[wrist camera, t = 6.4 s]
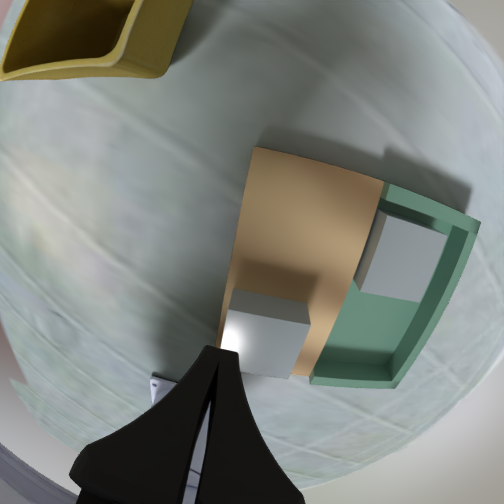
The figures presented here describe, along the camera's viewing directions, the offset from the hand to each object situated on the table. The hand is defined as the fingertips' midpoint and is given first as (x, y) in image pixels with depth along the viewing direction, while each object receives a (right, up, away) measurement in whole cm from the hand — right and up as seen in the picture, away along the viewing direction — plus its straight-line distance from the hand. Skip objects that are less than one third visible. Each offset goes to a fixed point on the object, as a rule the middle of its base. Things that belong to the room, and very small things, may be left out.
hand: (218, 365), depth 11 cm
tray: (+12, +1, +9) cm, 15 cm away
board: (+4, +3, +9) cm, 10 cm away
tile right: (+11, +5, +7) cm, 14 cm away
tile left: (+2, 0, +8) cm, 9 cm away
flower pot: (-6, +19, +3) cm, 21 cm away
